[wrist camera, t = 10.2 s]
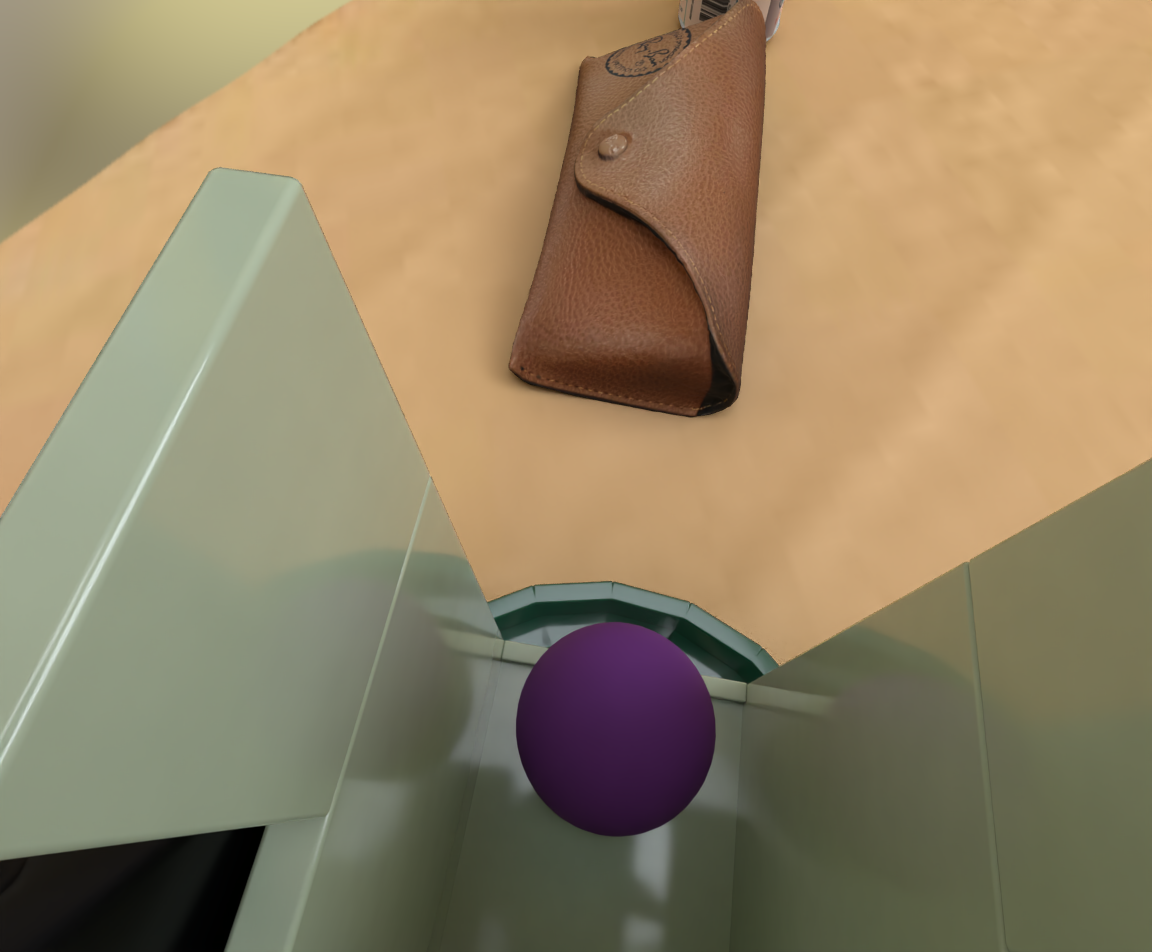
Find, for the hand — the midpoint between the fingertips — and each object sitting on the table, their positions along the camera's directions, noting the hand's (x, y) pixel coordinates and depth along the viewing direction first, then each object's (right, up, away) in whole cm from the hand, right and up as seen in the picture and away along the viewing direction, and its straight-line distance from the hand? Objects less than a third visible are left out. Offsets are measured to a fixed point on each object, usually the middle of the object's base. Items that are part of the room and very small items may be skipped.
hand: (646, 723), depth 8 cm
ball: (0, -2, +4) cm, 4 cm away
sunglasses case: (+2, +14, +19) cm, 24 cm away
